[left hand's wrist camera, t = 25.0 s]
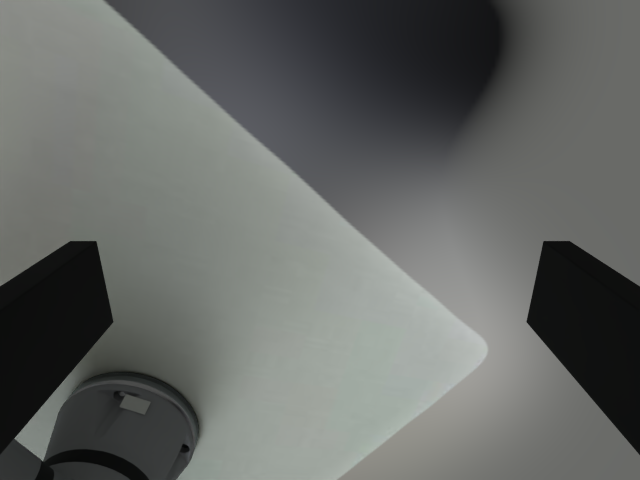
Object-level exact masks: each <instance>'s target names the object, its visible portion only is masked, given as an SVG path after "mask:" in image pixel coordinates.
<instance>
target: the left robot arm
mask: <svg viewBox="0 0 640 480" xmlns="http://www.w3.org/2000/svg"><path fill="white" fill-rule="evenodd" d="M112 323H113V318H112V313H111V308H110V304H109V299H108V294H107V289H106V285H105V280H104V275H103V270H102V266H101V261H100V256H99V251H98V246H97V242H96V241H70V242H68V243H67V244H65V245H64V246H62V247H61V248H59V249H57V250H56V251H54V252H53V253H51V254H50V255H48V256H47V257H45V258H44V259H42V260H40V261H39V262H37V263H36V264H34V265H33V266H31V267H30V268H28V269H27V270H25V271H24V272H22V273H20V274H19V275H17V276H16V277H14V278H13V279H11V280H10V281H8V282H7V283H5V284H3V285H2V286H0V480H176V479H177V478H178V476H179V475H180V474H181V473H182V471H183V470H184V469H185V468H186V467H187V465H188V464H189V462H190V460H191V458H192V455H193V452H194V449H195V447H196V444H197V440H198V434H199V427H198V421H197V418H196V415H195V413H194V411H193V409H192V408H191V406H190V405H189V403H188V402H187V401H186V400H185V398H184V397H183V396H182V395H180V394H179V393H178V392H177V391H176V390H175V389H173V388H172V387H170V386H169V385H167V384H165V383H163V382H161V381H159V380H157V379H154V378H152V377H149V376H145V375H141V374H137V373H130V372H114V373H107V374H102V375H98V376H95V377H93V378H91V379H89V380H87V381H85V382H84V383H82V384H81V385H80V386H78V387H77V388H76V389H75V390H74V392H73V393H72V394H71V395H70V397H69V398H68V399H67V400H66V402H65V403H64V404H63V406H62V407H61V409H60V411H59V413H58V416H57V420H56V423H55V426H54V429H53V433H52V436H51V439H50V442H49V445H48V448H47V452H46V455H45V458H44V461H41V459H39V458H38V457H37V456H36V455H34V454H33V453H32V452H30V451H29V450H28V449H27V448H25V447H24V446H23V445H21V444H20V443H19V442H18V441H16V440H15V439H14V438H15V437H16V436H17V435H18V433H19V432H20V431H21V430H22V429H23V428H24V426H25V425H26V424H27V423H28V422H29V420H30V419H31V418H32V417H33V416H34V415H35V413H36V412H37V411H38V410H39V409H40V408H41V406H42V405H43V404H44V403H45V402H46V401H47V399H48V398H49V397H50V396H51V395H52V393H53V392H54V391H55V390H56V389H57V388H58V386H59V385H60V384H61V383H62V382H63V381H64V379H65V378H66V377H67V376H68V375H69V374H70V372H71V371H72V370H73V369H74V368H75V367H76V365H77V364H78V363H79V362H80V361H81V359H82V358H83V357H84V356H85V355H86V354H87V352H88V351H89V350H90V349H91V348H92V347H93V345H94V344H95V343H96V342H97V341H98V340H99V338H100V337H101V336H102V335H103V334H104V332H105V331H106V330H107V329H108V328H109V327H110V325H111V324H112ZM527 323H528V324H529V325H530V327H531V328H532V329H533V330H534V331H535V332H536V334H537V335H538V336H539V337H540V338H541V340H542V341H543V342H544V343H545V344H546V345H547V347H548V348H549V349H550V350H551V351H552V352H553V354H554V355H555V356H556V357H557V358H558V359H559V361H560V362H561V363H562V364H563V365H564V366H565V368H566V369H567V370H568V371H569V372H570V373H571V375H572V376H573V377H574V378H575V379H576V381H577V382H578V383H579V384H580V385H581V386H582V388H583V389H584V390H585V391H586V392H587V393H588V395H589V396H590V397H591V398H592V399H593V401H594V402H595V403H596V404H597V405H598V406H599V408H600V409H601V410H602V411H603V412H604V413H605V415H606V416H607V417H608V418H609V419H610V420H611V422H612V423H613V424H614V425H615V426H616V428H617V429H618V430H619V431H620V432H621V433H622V435H623V436H624V437H625V438H626V439H627V440H628V442H629V443H630V444H631V445H632V446H633V447H634V449H635V450H636V451H637V452H638V453H639V455H640V286H638V285H637V284H635V283H633V282H632V281H630V280H629V279H627V278H626V277H624V276H623V275H621V274H620V273H618V272H616V271H615V270H613V269H612V268H610V267H609V266H607V265H606V264H604V263H603V262H601V261H600V260H598V259H596V258H595V257H593V256H592V255H590V254H589V253H587V252H586V251H584V250H582V249H581V248H579V247H578V246H576V245H575V244H573V243H572V242H570V241H544V242H543V246H542V251H541V256H540V261H539V266H538V270H537V275H536V280H535V285H534V289H533V294H532V299H531V304H530V309H529V313H528V318H527Z"/></svg>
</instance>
